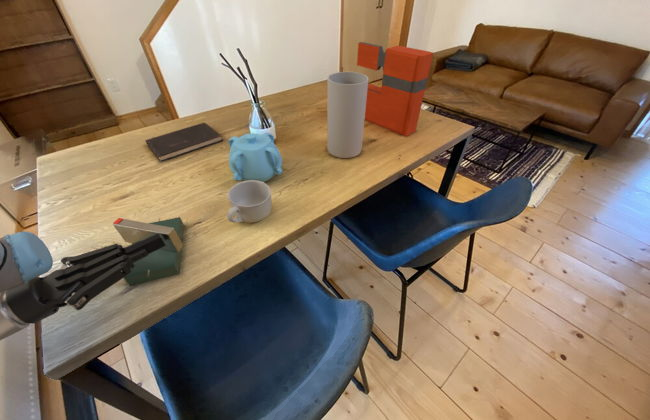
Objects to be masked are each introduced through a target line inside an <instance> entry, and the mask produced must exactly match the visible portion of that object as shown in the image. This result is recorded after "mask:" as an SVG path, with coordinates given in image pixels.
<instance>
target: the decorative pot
mask: <svg viewBox="0 0 650 420" xmlns="http://www.w3.org/2000/svg"><path fill="white" fill-rule="evenodd" d="M228 145H229V148H230V150H229V154H228V166H229V170H230V172H231V173H233V177H232V178H233V180H234V181H236V182H241V181H247V180H257V181H261V182H264V183H266V182H268V181H270V180H271V179H272V178H274V177H276V176H280V175H282V173H283V169H282V166H283V158H282V156H281V152H280V151H279V149H278V147H277V146H276V144H275V137H274V135H273V134H272V133H271V132H264V133H262V134H260V133H254V132H253V133H252V132H251V133H245V134H243V135H241V136H239V137H238V136H236V135H235V136H234V135H233V136H231V137H230V138H229V139H228Z"/></svg>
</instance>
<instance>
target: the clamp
mask: <svg viewBox="0 0 650 420" xmlns="http://www.w3.org/2000/svg"><path fill="white" fill-rule="evenodd" d="M357 45H358V46H357V59H356V66H359V67H360V68H361V67H362V68H366V69H369V70H373V71H379V70H381V68H382V80H381V86H377V85H376V84H372V83H368V89H367V99H366V110H365V120H364V121H367V122H369V123H371V124H375V125H377V126H380V127H381V128H384V129H386V130H389V131H391V132H394V133H397V134H399V135H401V136H404V137H408V136H410V135H412V134H413V133H415V132H416V130H417V126H418V121H419V118H420V113H421V109H422V104H423V100H424V97H425V96H424V95H425V91H426V88H427V83H428V78H429V75H430V71H431V65H432V61H433V57H434V52H433V51H429V50H422V49H418V48H412V47H408V46H404V45H394V46H391V47H387V48H385V51H384V48H383V46H382V45H378V44H373V43H368V42H363V41H360V42H358V43H357Z"/></svg>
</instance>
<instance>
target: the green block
mask: <svg viewBox="0 0 650 420" xmlns="http://www.w3.org/2000/svg"><path fill="white" fill-rule="evenodd" d="M148 223H149V224H155V225H160V226H166V227H171V228H174V229H175V231H176V233H177V235H178V237H179V239H180V240H181V242H182V243H183V241H184V229H185V224H184V222H183V220H182V218H181V216H178V217H172V218H168V219H164V220H161V217H158V219H157V221H153V222H148ZM196 236H197V235H196V234H191V235H189V238H192V237H196ZM132 244H133V243H131V245H132ZM182 250H183V247H182V248H181V250H180V251H179V252H174V251H169V250H164V249H158V250H156V251H154V252H152V253H150V254H149V255H148V256H146V257H144V258H142V259H140V260H138V261H136V262H134V263H133V264H134V268H131V267H130V269H131V273H130V274H128V275H127V276H125V277H124V278H123V280H124V281H125V282H126V283H127V284H128V285H129V286H134V285H138V284H142V283H146V282H151V281H155V280H159V279H163V278H167V277H168V278H169V277H171V276H175V275H180V269H181V262H182V261H181V260H182Z"/></svg>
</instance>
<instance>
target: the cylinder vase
mask: <svg viewBox="0 0 650 420" xmlns="http://www.w3.org/2000/svg"><path fill="white" fill-rule="evenodd" d="M368 84H369V77H368V75H367V74H364V73H361V72H356V71H338V72H337V71H336V72H334V73H331V74H329V75H328V76H327V95H326V96H327V105H326V106H327V107H326V108H327V109H326V111H327V124H326V125H327V129H326V130H327V131H326V132H327V137H326V138H327V143H326V144H327V147H326V148H327V151H328V153H329V155H332V157H333V156H334V157H335V158H339V159H352V158H354V157H357V156H359V155H360V154H361V152H362V150H363V141H364V130H365V121H366V120H365V110H366V99H367V89H368Z"/></svg>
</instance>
